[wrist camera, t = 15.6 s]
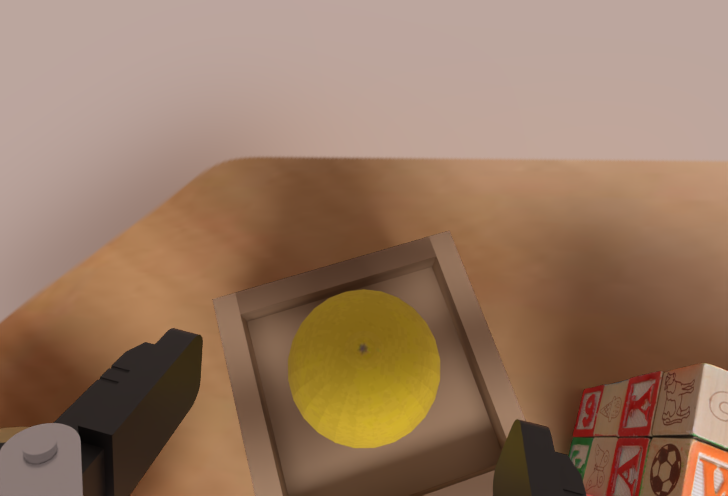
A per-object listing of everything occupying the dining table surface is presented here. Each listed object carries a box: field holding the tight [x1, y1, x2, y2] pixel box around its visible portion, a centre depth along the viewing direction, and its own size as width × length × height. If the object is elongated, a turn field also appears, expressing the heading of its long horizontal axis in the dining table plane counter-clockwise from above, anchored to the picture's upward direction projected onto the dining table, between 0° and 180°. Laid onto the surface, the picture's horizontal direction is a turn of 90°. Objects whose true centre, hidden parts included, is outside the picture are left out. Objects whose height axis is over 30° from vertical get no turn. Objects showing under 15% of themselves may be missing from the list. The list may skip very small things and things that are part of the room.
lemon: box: [288, 289, 440, 448], centre depth 19 cm, size 6×6×8 cm
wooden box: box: [213, 231, 526, 496], centre depth 24 cm, size 11×11×6 cm
